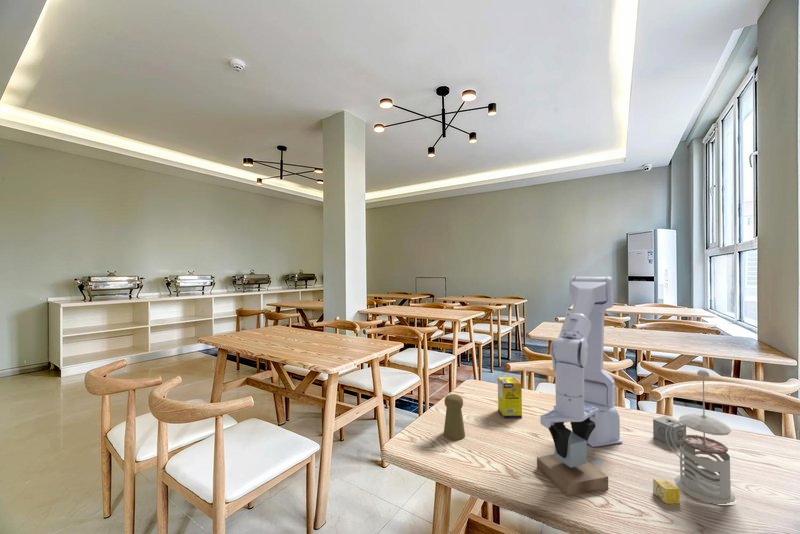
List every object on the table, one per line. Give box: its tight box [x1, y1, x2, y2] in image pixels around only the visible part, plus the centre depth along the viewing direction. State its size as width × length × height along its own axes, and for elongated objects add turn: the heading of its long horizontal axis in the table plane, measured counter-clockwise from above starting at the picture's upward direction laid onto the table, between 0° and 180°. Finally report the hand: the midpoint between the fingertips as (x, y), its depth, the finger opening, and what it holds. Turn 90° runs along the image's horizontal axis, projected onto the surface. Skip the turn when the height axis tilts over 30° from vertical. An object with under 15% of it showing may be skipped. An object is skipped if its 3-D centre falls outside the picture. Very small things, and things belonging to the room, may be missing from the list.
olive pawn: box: [443, 393, 466, 441], centre depth 94 cm, size 6×6×11 cm
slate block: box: [554, 432, 588, 468], centre depth 74 cm, size 4×4×5 cm
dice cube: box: [652, 415, 687, 447], centre depth 89 cm, size 5×5×5 cm
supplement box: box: [497, 376, 523, 419], centre depth 106 cm, size 6×6×11 cm
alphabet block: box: [652, 478, 681, 504], centre depth 67 cm, size 3×3×3 cm
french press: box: [666, 369, 736, 505], centre depth 70 cm, size 10×12×25 cm
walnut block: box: [536, 453, 609, 498], centre depth 74 cm, size 10×10×3 cm
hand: (570, 453), depth 74 cm, fingers closed on slate block, 4 cm apart
